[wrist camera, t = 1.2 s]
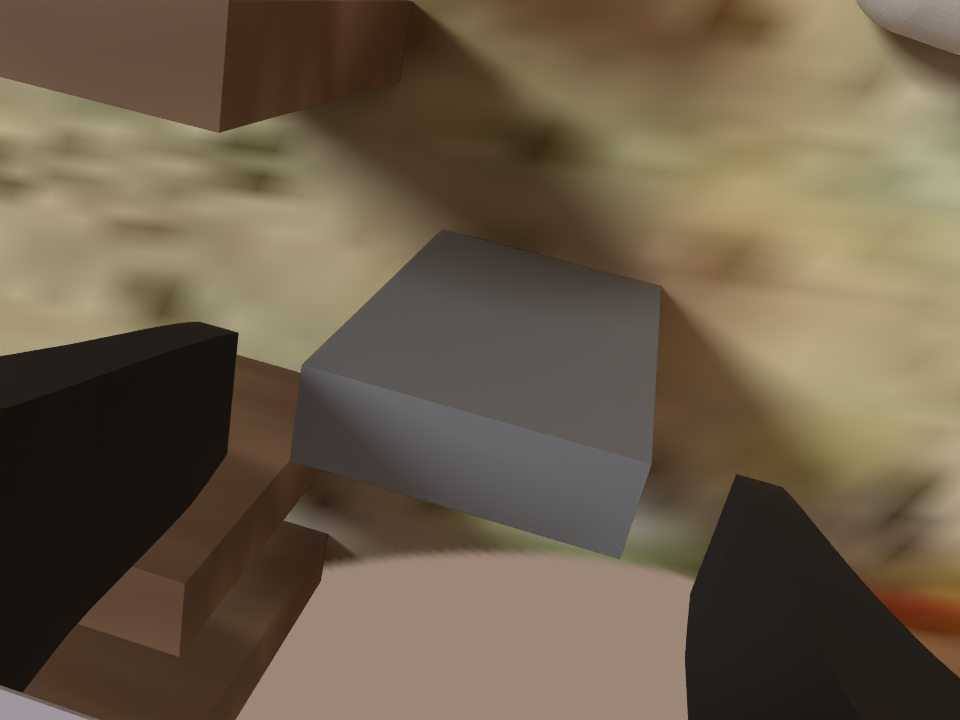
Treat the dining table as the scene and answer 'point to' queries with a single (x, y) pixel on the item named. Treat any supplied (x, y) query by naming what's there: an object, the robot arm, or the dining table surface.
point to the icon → (919, 20)
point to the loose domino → (493, 391)
